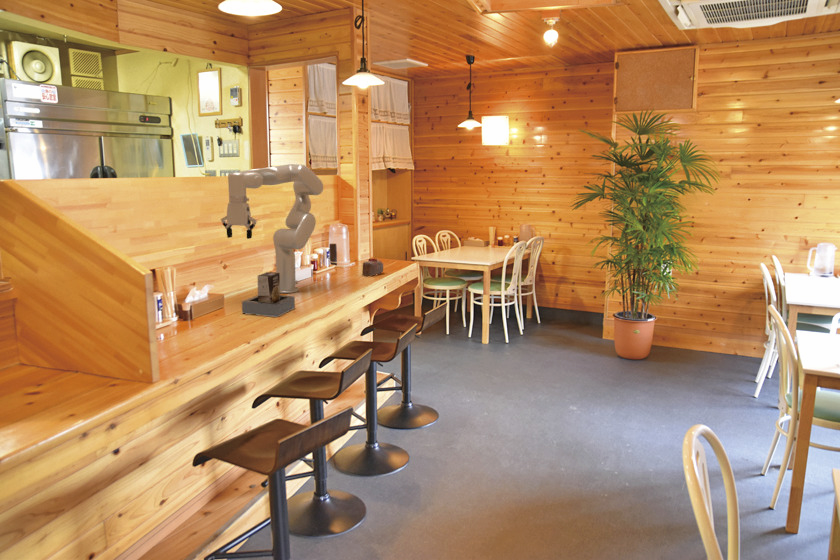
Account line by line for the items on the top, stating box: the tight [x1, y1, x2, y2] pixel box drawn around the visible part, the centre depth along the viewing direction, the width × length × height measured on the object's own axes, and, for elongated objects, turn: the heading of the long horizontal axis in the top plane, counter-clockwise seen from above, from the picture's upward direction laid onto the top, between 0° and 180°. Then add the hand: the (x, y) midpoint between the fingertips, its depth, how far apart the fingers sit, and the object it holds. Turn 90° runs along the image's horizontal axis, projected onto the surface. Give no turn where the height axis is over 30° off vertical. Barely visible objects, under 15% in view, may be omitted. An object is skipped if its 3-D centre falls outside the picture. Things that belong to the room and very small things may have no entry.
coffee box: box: [257, 272, 281, 303], centre depth 256 cm, size 9×6×16 cm
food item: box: [361, 258, 384, 277], centre depth 345 cm, size 14×8×10 cm, turn 154°
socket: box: [241, 294, 296, 318], centre depth 257 cm, size 16×16×5 cm
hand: (239, 237), depth 268 cm, fingers open, 9 cm apart
